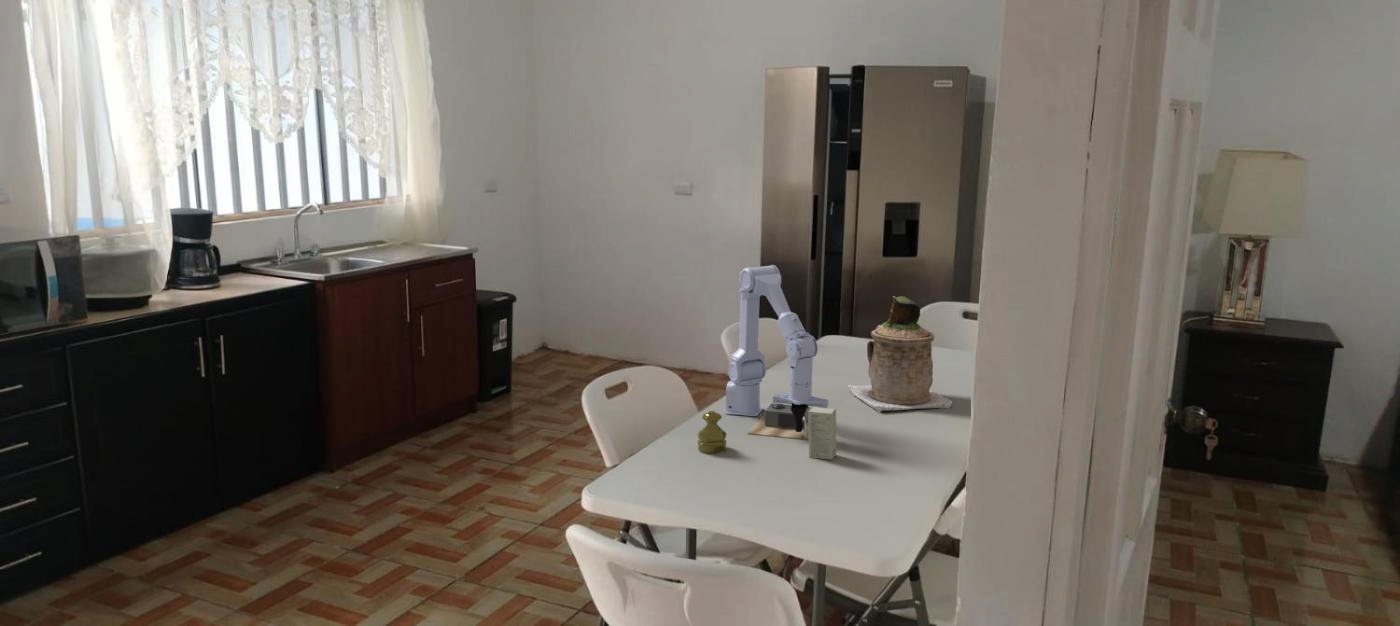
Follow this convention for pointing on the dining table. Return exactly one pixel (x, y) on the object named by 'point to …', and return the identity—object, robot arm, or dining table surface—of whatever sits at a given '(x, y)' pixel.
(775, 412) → the camera body
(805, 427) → the side door
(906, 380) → the cookie jar
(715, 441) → the salt shaker
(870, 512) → the dining table surface
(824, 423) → the skincare box
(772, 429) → the wooden board
